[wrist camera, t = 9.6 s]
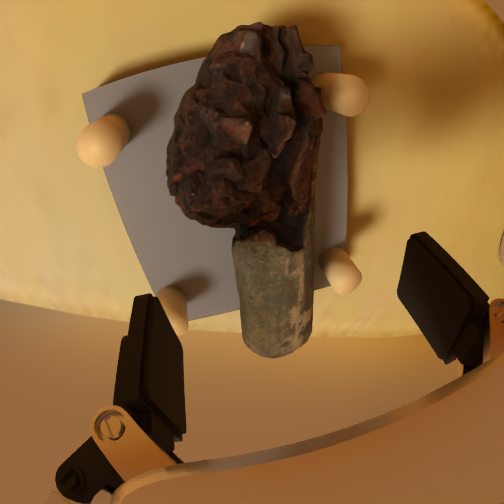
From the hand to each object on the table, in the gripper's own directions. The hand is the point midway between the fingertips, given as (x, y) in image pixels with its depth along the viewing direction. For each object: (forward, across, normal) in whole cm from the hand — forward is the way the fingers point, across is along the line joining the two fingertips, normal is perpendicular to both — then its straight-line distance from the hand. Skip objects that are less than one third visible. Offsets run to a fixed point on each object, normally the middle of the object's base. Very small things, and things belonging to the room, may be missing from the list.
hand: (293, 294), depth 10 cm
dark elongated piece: (+8, 0, 0) cm, 8 cm away
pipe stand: (+9, +1, 0) cm, 9 cm away
